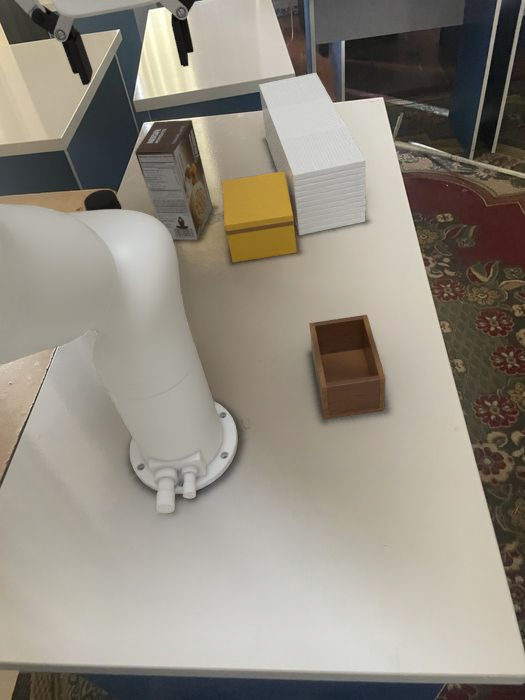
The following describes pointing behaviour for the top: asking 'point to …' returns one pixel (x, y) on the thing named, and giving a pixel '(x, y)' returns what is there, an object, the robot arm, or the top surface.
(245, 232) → the box
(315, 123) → the stack of papers
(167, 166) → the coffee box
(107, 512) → the top surface
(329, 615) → the top surface
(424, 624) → the top surface
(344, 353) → the wooden box
